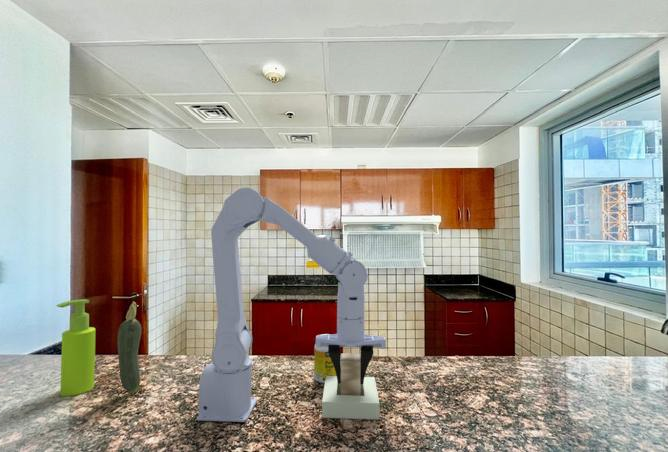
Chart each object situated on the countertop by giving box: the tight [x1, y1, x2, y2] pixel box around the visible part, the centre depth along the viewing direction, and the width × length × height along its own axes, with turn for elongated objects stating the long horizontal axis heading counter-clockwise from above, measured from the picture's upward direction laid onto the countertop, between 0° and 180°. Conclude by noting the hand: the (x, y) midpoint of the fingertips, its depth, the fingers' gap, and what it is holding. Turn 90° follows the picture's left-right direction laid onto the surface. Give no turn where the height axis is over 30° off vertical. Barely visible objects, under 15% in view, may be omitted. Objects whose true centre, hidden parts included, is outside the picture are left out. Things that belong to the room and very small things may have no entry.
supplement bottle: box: [313, 333, 337, 384], centre depth 77 cm, size 6×6×10 cm
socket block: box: [321, 376, 381, 420], centre depth 65 cm, size 11×11×3 cm
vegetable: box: [117, 300, 142, 394], centre depth 69 cm, size 4×4×20 cm
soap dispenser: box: [56, 298, 97, 397], centre depth 70 cm, size 6×7×20 cm
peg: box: [340, 352, 361, 396], centre depth 66 cm, size 4×4×8 cm
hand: (350, 381), depth 65 cm, fingers closed on peg, 4 cm apart
